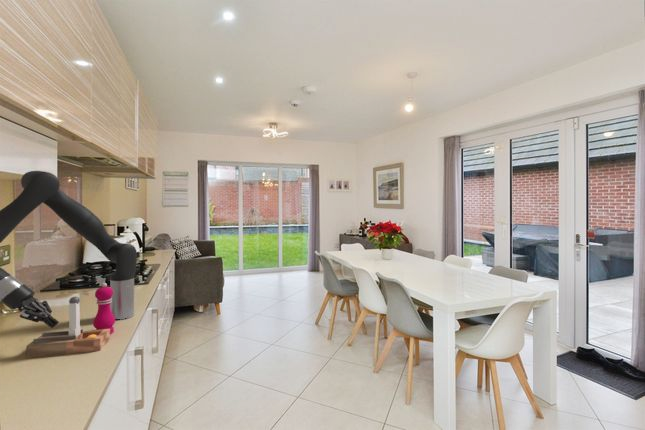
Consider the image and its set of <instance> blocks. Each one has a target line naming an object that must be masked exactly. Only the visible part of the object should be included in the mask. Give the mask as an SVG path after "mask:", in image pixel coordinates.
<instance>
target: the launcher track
mask: <svg viewBox="0 0 645 430" xmlns="http://www.w3.org/2000/svg"><path fill="white" fill-rule="evenodd" d="M92 334H94V335H97V337H95V338H87V337H88V336H89V335H92ZM109 339H110V340H111V334H110V329H100V330H96V329H91V330H84V329H82V328H81V334H79V335H78V336H77V337H76V335H73V336H69V330H59V331H50V332H49V331H48V332H42V334H41V335H39V336H38V337H37V338H34V339H33V340H32V341H31V342H30V343H28V344H27V345H26V346H25V347H26V349H25V350H26V354H25V355H26V359H29V358H30V359H31V358H38V357H49V356H59V355H68V354H77V353H78V354H79V353H87V352H88V353H89V352H97V351H102V349H103V348H104V347H105V346H106V344H107V343H108V342H109V341H110V340H109ZM104 345H105V346H104Z"/></svg>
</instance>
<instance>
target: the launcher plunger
mask: <svg viewBox="0 0 645 430" xmlns="http://www.w3.org/2000/svg"><path fill="white" fill-rule="evenodd" d="M80 302H81V299H80V297H79V296H73V297H70V298H69V300H68V309H69V310H68V313H69V315H68V316H69V318H68V319H69V320H68V323H69V324H68V325H69V326H68V327H69V329H68V331H69V336H73V335H76V337H77V336H78V335H79V334H81V330H82V328H81V323H80V322H81V321H80V319H81V316H80V315H81V314H80V313H81V310H80V305H81V304H80Z"/></svg>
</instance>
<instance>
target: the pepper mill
mask: <svg viewBox="0 0 645 430" xmlns="http://www.w3.org/2000/svg"><path fill="white" fill-rule="evenodd" d="M112 295H113V289H112V288H110V286H108V284H107V283H106V282H103V283H101V287H98V288H97V289H96V290H95V292H94V296H95V298H96V305H97V313H96V315H95V317H94V318H93V321H92V326H93V327H94V329H95V330H100V329H110V335H112V334H113V333H114V332H115V328H114V325H115V323H116V320H115V317H114V315H113V313H112V312H111V309H110V304H111V302H112V298H111V297H112ZM111 333H112V334H111Z"/></svg>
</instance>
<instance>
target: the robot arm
mask: <svg viewBox="0 0 645 430" xmlns="http://www.w3.org/2000/svg"><path fill="white" fill-rule="evenodd" d="M20 184H21V187H22V189H23V190H22V191H21V192H20V194H19V195H18V196H17V197H16V198H15V199H13V201H11V202H10V203H9V204H7V205H6V206H5V207H3V208H2V209H0V244H1V243H2V242H3V241H4V240H5V239H6V238H7V237H8V236H9V235H10V234H11V233H12V232H13V231H14V230H15V229H16V227H18V225H19V224H20V223H21V222H22V221H23V220H25V219H26V217H28V216H29V215H30V214H31V213H32V212H33V211H34V210H36V209H37V208H38V207H39V206H41V204H44V205H45V206H47V207H48V208H50V210H52V211H53V212H54V213H55V214H56V215H57V217H59V218H60V219H61V220H62V221H63V222H64V223H65V224H66V225H67V226H68V227H70V228H71V229H72V230H74V231H75V232H76V233H77V234H79V235H80V236H82V238H83V239H85V240H86V241H87V242H88V243H90V244H91V245H93V246H94V247H95V248H97V250H98V251H99V252H101V254H102V255H103V256H104V257H105V258H106V259H107V260H108V261H109V262H111V263H113V264H115V269H114V271H113V272H111V273H110V276H109V281H110V283H109V284H110V286H109V287H110V288H112V289H113V295H112V297H111V298H112V302H111V304H110V309H111V312H112V313H113V315H114V317H115V319H120V320H126V319H130V318H132V317H134V316H135V274H136V272H137V263H138V262H137V261H138V260H137V259H138V252H137V249H136V247H135V246H134V245H133V244H130V243H121V242H120V241H118V240H116V239H115V238H113V237H112V236H111V235H110V234H109V233H108V231H107V230H106V228H105V225H104V223H103V222H102V221H101V219H100V218H99V217H98V216H97V215H96V214H94V213H93V212H92V211H91V210H90V209H88V208H87V207H86V206H84V205H83V204H81V203H80V202H78V201H77V200H75V199H74V198H72V197H70V196H69V195H67V194H66V193H65V192H64V191H63V190H62V189H61V188H60V185H61V184H60V180H59V178H58V177H57V176H56V175H55V174H54V173H51V172H48V171H45V170H43V171H41V170H31V171H27V172H25V173H24V174H23V175H22V176H21V179H20ZM35 293H36V292H35V291H33V290H32V289H31V288H30V287H29V286H28V285H26V284H25V283H24V282H22V281H21V280H19V279H18V278H16V277H15V276H13V275H12V274H10V273H9V272H7V271H6V270H5V269H4V268H2V267H1V266H0V302H1V303H2V304H3V305H4V306H6V307H8V308H9V309H10V310H12V311H14V310H16V309H18V311H19V312H20V313H21V314H20V315H19V317H20V318H21V319H25V320H27V321H31V322H35V323H39V322H40V323H41V322H43V323H44V324H45V325H47V326H48V327H49V328H50V329H51V328H52V329H53V328H54V327H56V326H57V325H58V324H59V320H57V319H56V318H54V316H52V312H53V311H52V309H51V307H50V305H49V303H48V301H47V300H43V301H41V300H40V299H38V298H35V297H34V295H35ZM125 318H126V319H125Z"/></svg>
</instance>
